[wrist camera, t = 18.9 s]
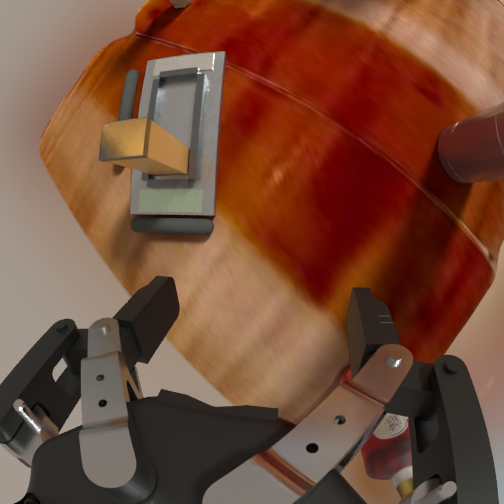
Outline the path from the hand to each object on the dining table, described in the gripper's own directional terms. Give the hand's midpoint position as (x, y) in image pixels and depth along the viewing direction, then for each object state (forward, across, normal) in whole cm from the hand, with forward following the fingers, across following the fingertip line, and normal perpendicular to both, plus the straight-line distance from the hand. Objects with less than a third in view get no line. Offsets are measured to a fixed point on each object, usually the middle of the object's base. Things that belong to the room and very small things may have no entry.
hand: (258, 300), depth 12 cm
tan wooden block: (+23, +15, -4) cm, 28 cm away
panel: (+26, +15, -8) cm, 32 cm away
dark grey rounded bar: (+23, +16, +4) cm, 28 cm away
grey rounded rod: (+26, +24, -12) cm, 37 cm away
